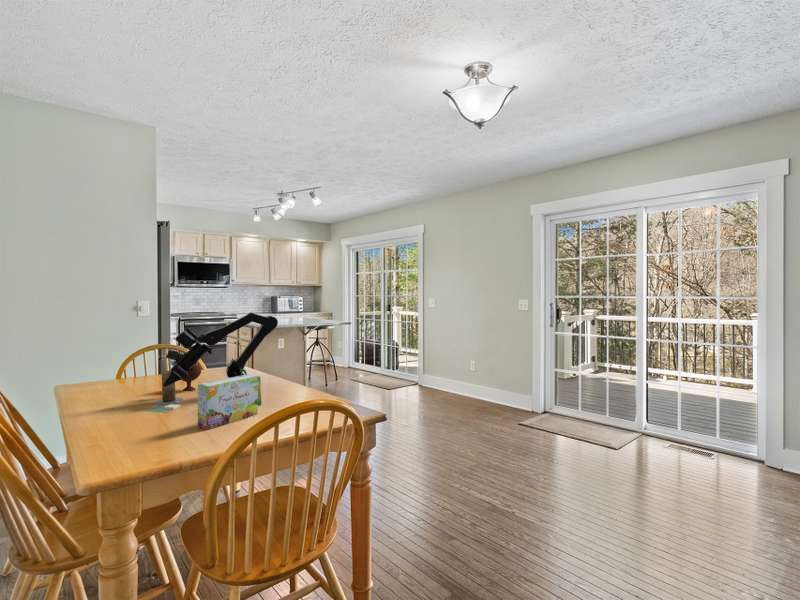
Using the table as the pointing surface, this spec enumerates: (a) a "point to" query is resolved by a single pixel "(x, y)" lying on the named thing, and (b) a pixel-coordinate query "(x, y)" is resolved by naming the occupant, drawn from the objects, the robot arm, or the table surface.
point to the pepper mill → (167, 389)
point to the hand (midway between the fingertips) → (164, 383)
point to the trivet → (159, 402)
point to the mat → (163, 408)
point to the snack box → (227, 401)
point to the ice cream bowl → (192, 376)
